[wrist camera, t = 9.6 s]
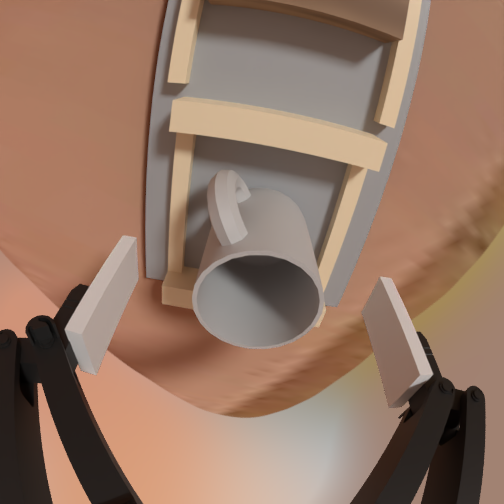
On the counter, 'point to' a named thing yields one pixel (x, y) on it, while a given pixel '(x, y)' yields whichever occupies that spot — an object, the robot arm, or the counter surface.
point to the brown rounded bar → (341, 14)
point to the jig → (273, 129)
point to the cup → (256, 267)
